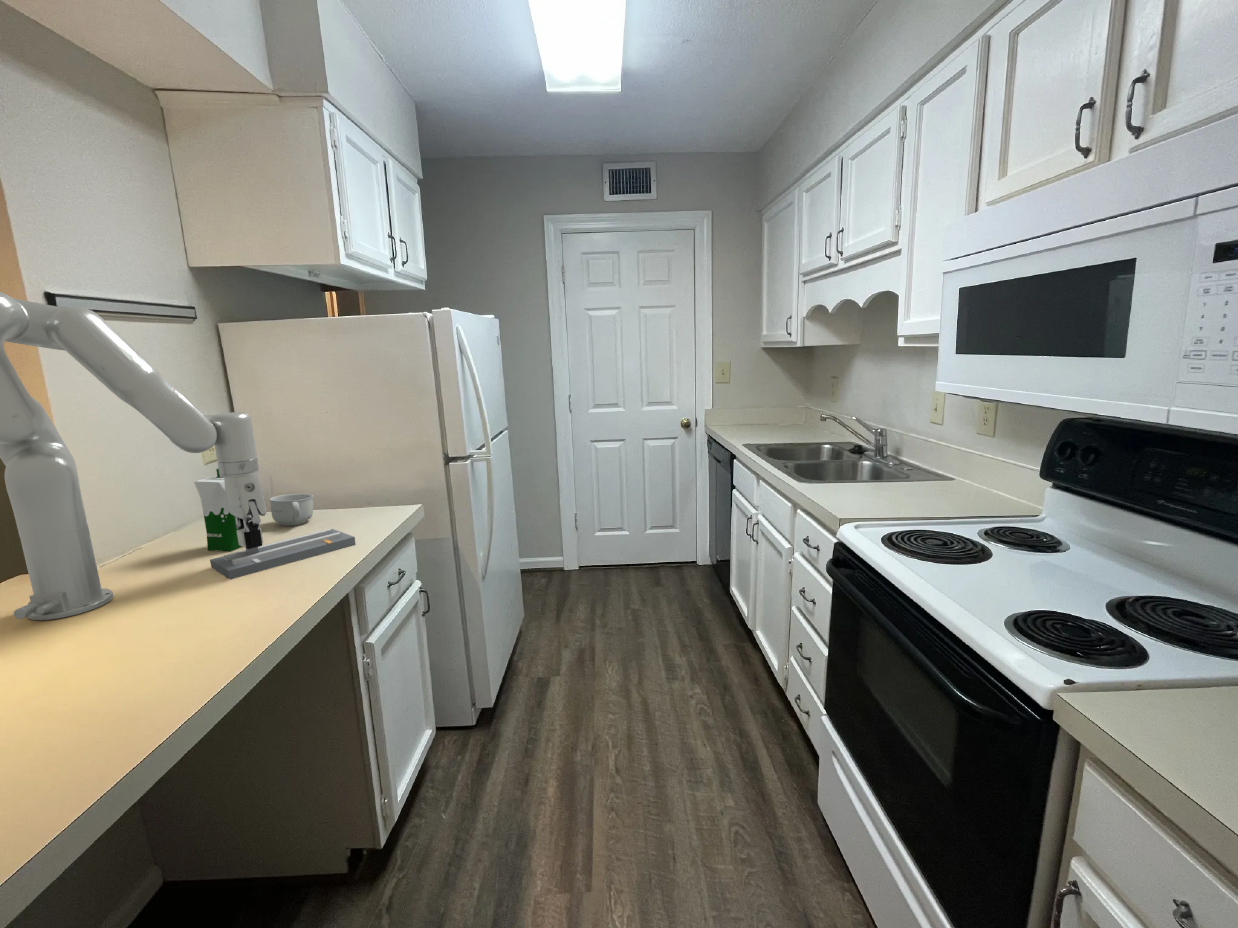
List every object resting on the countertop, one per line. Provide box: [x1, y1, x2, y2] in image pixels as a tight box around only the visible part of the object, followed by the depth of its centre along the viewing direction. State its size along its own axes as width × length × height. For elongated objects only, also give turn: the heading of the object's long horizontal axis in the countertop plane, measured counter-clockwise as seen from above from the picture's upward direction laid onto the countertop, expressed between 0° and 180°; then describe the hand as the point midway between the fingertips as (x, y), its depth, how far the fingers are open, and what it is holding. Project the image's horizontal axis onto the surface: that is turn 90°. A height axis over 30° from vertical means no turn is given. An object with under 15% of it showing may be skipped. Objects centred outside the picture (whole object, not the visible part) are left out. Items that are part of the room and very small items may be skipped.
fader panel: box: [209, 528, 356, 580], centre depth 141 cm, size 28×12×3 cm, turn 141°
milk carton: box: [193, 468, 243, 553], centre depth 148 cm, size 9×9×20 cm
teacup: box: [269, 493, 314, 527], centre depth 167 cm, size 14×11×8 cm
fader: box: [237, 527, 264, 556], centre depth 135 cm, size 4×3×6 cm
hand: (251, 544), depth 135 cm, fingers closed on fader, 3 cm apart
